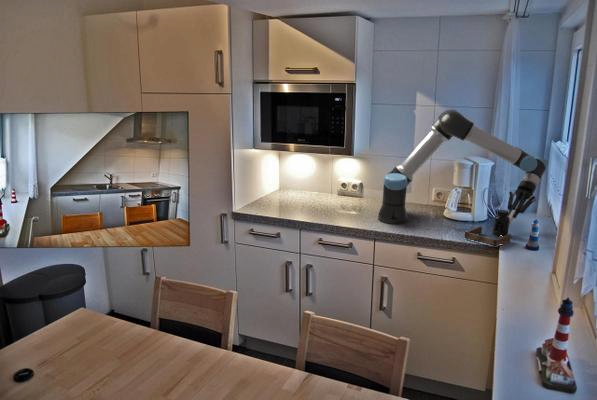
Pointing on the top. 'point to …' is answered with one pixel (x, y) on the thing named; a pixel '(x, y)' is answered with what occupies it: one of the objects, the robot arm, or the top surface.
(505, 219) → the supplement bottle
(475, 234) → the walnut bay
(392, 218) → the robot arm
